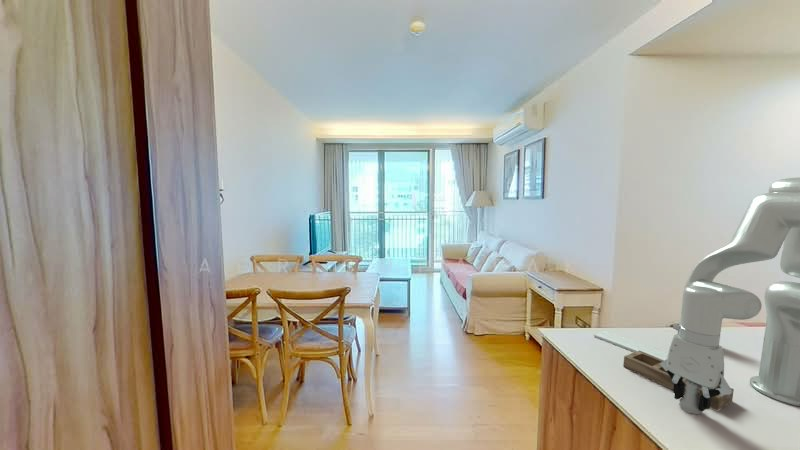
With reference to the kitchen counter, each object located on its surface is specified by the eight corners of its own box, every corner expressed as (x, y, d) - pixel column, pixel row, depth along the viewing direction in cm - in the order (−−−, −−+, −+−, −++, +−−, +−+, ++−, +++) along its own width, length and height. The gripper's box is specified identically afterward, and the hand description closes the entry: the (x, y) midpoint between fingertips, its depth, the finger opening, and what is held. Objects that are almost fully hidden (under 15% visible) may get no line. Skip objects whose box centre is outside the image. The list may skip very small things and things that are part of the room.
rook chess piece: (685, 413, 81) (688, 384, 80) (674, 402, 85) (677, 374, 84) (706, 416, 80) (709, 386, 79) (694, 405, 84) (697, 376, 83)
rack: (638, 360, 106) (639, 350, 106) (732, 401, 86) (733, 389, 85) (623, 366, 102) (624, 356, 102) (717, 410, 82) (719, 398, 82)
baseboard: (607, 332, 128) (593, 338, 123) (607, 325, 128) (594, 331, 123) (707, 368, 103) (695, 377, 98) (708, 360, 102) (696, 369, 97)
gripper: (652, 325, 86) (645, 388, 88) (738, 355, 71) (728, 430, 73) (666, 320, 90) (660, 381, 92) (752, 347, 75) (742, 420, 77)
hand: (690, 402), depth 82 cm, fingers open, 4 cm apart
